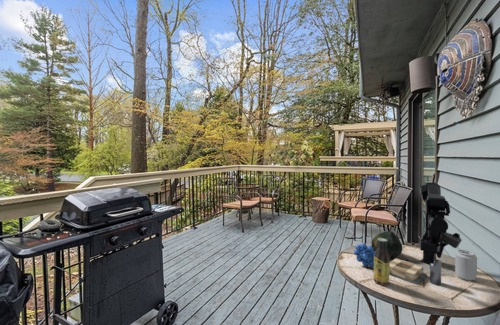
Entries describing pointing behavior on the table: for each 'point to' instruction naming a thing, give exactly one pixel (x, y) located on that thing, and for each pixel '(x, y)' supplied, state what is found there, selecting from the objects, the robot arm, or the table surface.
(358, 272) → the table surface
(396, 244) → the squash
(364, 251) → the grapes
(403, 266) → the socket
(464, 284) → the table surface
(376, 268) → the sauce bottle
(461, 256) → the can
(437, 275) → the peg
